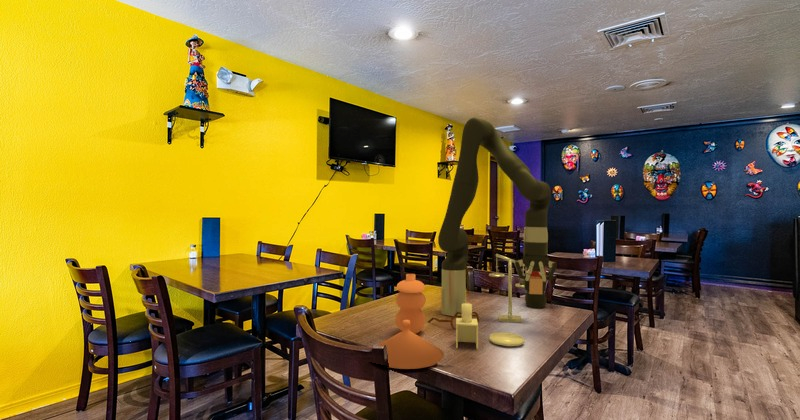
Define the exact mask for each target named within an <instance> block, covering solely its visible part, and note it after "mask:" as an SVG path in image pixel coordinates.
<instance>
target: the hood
mask: <svg viewBox="0 0 800 420" xmlns="http://www.w3.org/2000/svg"><path fill="white" fill-rule="evenodd" d="M472 312H473V305H472V303H469V302H466V303H463V304H462V316H461V317H460V318H458V317H455V328H456V330H455V341H456V342H455V348H456V349H458V348H459V347H458V346H459V345H458V343H459V342H460V343H461V342H462V343H463V342H464V343H475V350H479V322H477V318H473V316H472V315H473V314H472Z"/></svg>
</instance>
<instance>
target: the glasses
mask: <svg viewBox="0 0 800 420" xmlns="http://www.w3.org/2000/svg"><path fill="white" fill-rule="evenodd" d="M458 314H461V315H462V313H460V312H457V313H456V314H455V316H451V318H450V319H439V318H437V317H432V318H430V319H429V320H428V321H427V323H431V322H432V321H433V320H434V321H437V322H440V323H450V326H451V328H452V330H453V331H456V327H454V322H453V321H454V319H456V318H461V316H457V315H458ZM472 317H476V319H477V322H478V323H479V322H480V317H479V314H478V313H477V312H476V311H472Z"/></svg>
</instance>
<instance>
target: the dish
mask: <svg viewBox="0 0 800 420" xmlns="http://www.w3.org/2000/svg"><path fill="white" fill-rule="evenodd" d="M489 341H490V342H491V343H493V344H495V345H498V346H505V347H519V346H522V345H524V343H525V338H524V337H523V336H522V335H520V334H517V333H511V332H501V331H500V332H493V333H491V334H489Z"/></svg>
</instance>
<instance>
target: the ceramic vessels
mask: <svg viewBox="0 0 800 420" xmlns="http://www.w3.org/2000/svg"><path fill="white" fill-rule="evenodd" d="M425 288H426V286H425V283H423V282H422V281H421V280H417V279H416V274H415V273H406V274H405V279H404V280H401V281H399V282H398V283H397V285H396V289H397V291H398V293H397V294H396V296H395V303H396V305H397V307H398V308H400V309H399V310H398V312H396V316H395V319H394V321H395V325H396V327H397V329H399V330H400V332H398V333H397V334H395V335H393V336H392V337H389V338H388V339H386V340H384V341H382V342H381V343H379V344H377V345H376V346H384V345H386V346H387V353H388V363H389V367H388V368H392V369H400V370H411V369H412V370H415V369H416V370H417V369H424V368H428V367H432V366H435V365H438V363H439V362H440V361H442V360H443V358H444V357H445V355H444V351H443V350H442V349H441V348H440V347H439V346H436V345H435V344H433V343H431V342H430V341H428V340H426V339H424V338H423V337H421V336H419V335H418V333H419V332H421V331H422V330H423V329H424V327H425V325H426V321H427V320H426V315H425V313H424V311H423V310H422V309H423V308H424V306H425V304H426V302H427V299H426V295H425V294H424V293H422V292H424V290H425Z"/></svg>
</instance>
